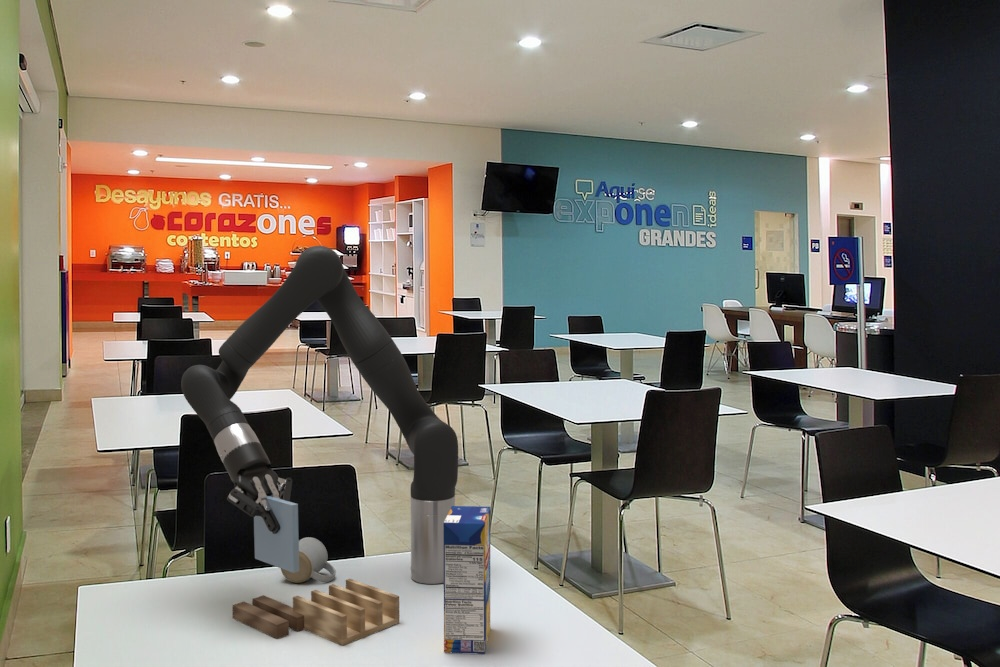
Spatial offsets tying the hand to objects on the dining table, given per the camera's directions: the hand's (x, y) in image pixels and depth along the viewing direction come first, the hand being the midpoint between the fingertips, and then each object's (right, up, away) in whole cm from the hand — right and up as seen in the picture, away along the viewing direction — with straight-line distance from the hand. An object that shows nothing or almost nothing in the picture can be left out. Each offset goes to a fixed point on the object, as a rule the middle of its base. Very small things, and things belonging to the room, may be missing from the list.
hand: (281, 529), depth 154 cm
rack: (+11, -17, +2) cm, 21 cm away
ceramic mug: (-1, -16, +26) cm, 31 cm away
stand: (-3, -17, +2) cm, 18 cm away
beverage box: (+34, -18, -5) cm, 38 cm away
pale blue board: (-1, -7, +2) cm, 7 cm away
